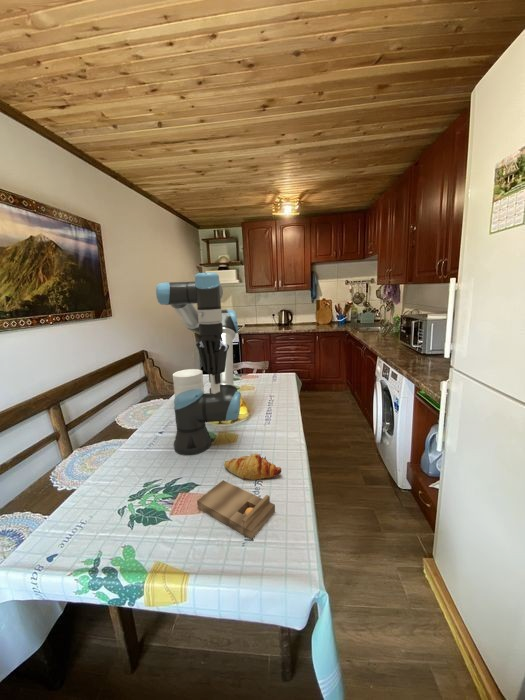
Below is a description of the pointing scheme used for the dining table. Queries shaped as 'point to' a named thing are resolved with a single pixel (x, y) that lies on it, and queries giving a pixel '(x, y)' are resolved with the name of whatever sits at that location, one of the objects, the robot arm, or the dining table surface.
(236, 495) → the wooden tray with slot
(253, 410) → the dining table surface
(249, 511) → the ball
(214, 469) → the dining table surface
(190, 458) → the dining table surface
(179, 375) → the canister
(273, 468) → the croissant
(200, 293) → the robot arm
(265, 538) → the dining table surface
